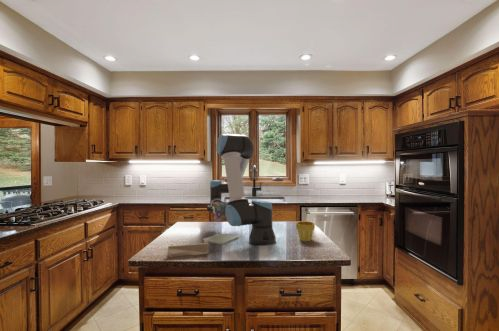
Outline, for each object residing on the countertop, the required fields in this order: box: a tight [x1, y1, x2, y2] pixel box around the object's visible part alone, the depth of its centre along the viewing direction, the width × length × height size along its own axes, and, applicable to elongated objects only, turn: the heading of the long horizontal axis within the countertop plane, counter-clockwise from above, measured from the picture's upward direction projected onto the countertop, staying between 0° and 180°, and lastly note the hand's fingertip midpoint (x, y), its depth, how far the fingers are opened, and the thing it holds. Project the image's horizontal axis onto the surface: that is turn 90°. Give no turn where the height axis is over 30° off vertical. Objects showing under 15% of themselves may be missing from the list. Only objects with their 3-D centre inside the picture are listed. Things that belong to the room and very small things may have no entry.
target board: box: [202, 233, 240, 246], centre depth 162 cm, size 15×15×1 cm
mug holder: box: [167, 241, 210, 258], centre depth 144 cm, size 18×19×5 cm
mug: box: [213, 201, 229, 223], centre depth 162 cm, size 12×9×11 cm
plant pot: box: [295, 220, 315, 242], centre depth 159 cm, size 10×10×10 cm
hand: (221, 210), depth 157 cm, fingers closed on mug, 7 cm apart
